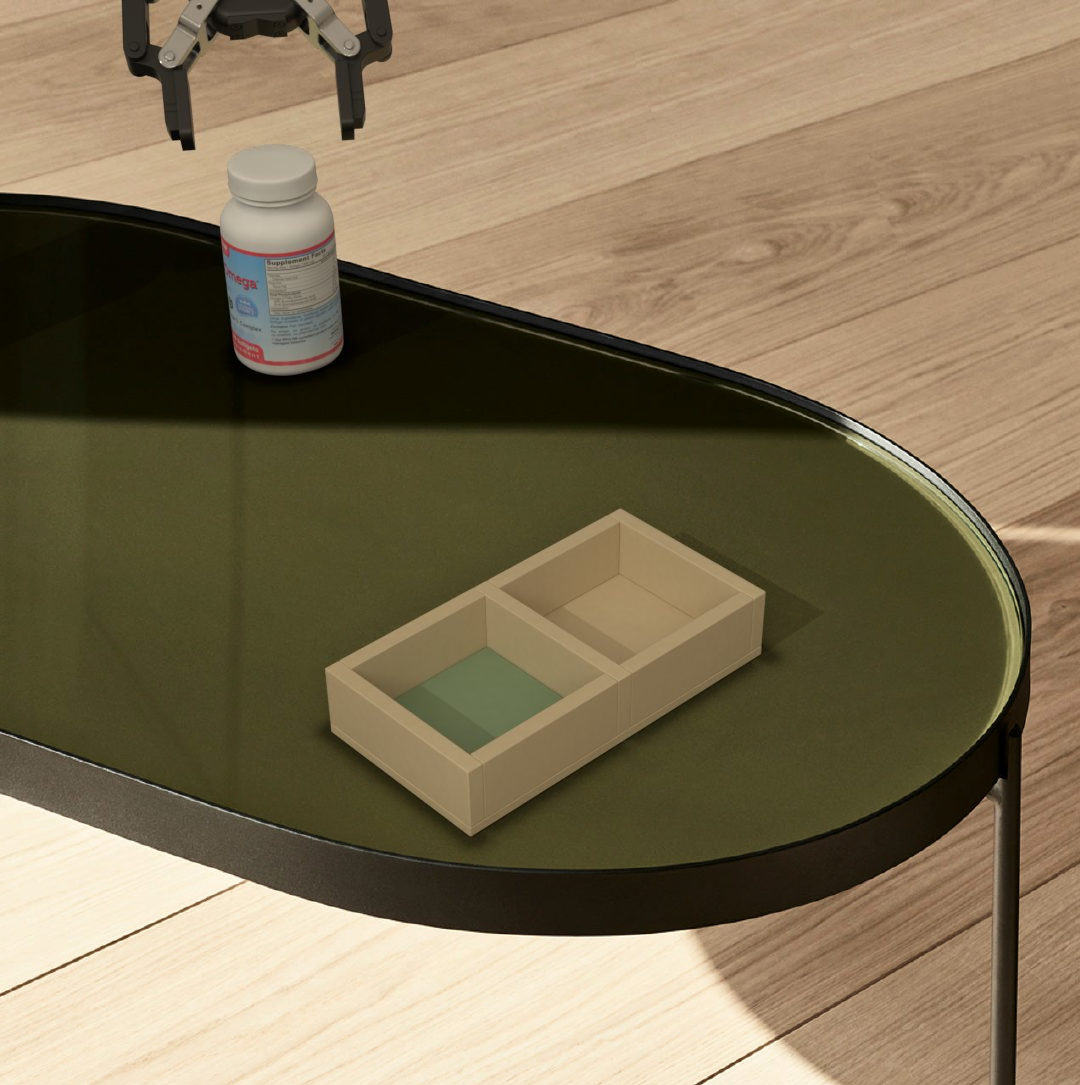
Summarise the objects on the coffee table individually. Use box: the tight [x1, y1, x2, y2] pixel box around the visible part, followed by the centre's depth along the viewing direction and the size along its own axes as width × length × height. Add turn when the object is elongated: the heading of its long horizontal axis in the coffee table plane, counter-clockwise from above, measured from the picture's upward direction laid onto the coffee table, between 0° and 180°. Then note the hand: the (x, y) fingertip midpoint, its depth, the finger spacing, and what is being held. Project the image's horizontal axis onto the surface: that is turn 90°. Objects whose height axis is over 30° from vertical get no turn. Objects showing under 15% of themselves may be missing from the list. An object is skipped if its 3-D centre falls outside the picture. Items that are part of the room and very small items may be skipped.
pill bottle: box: [219, 143, 344, 377], centre depth 106 cm, size 6×6×11 cm
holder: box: [324, 508, 767, 837], centre depth 85 cm, size 17×9×4 cm, turn 133°
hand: (268, 140), depth 104 cm, fingers open, 8 cm apart
